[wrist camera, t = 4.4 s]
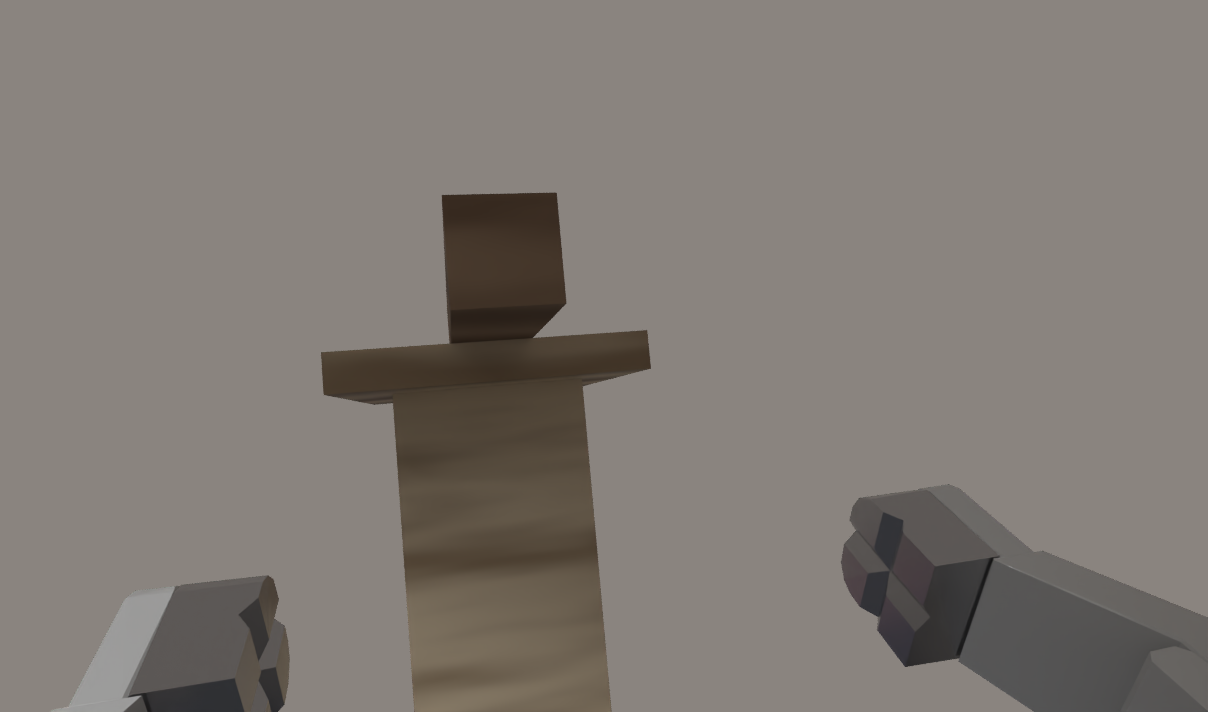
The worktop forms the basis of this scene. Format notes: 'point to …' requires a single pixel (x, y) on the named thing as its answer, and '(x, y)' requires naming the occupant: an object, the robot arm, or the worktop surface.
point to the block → (501, 265)
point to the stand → (497, 514)
